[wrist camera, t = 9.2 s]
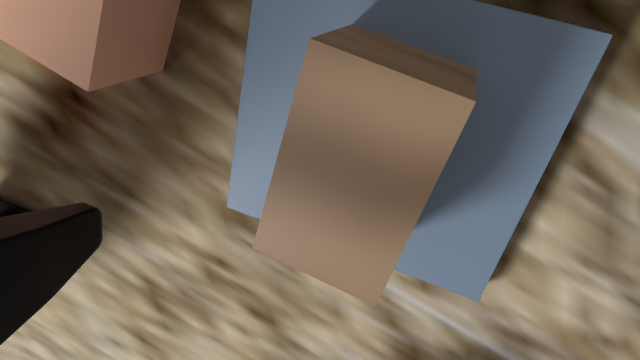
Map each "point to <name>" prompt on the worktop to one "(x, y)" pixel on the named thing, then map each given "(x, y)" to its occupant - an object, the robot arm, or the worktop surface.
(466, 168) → the base plate
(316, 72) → the walnut block
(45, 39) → the terracotta block
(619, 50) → the worktop surface
